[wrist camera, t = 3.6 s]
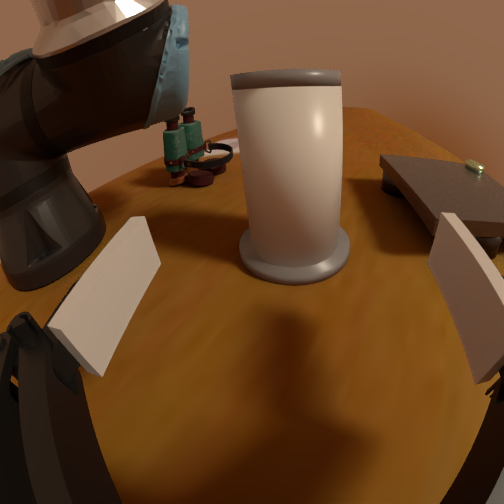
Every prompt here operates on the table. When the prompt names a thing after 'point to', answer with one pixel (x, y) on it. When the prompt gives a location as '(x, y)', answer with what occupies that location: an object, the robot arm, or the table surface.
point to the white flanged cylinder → (291, 173)
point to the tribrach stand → (449, 194)
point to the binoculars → (191, 152)
